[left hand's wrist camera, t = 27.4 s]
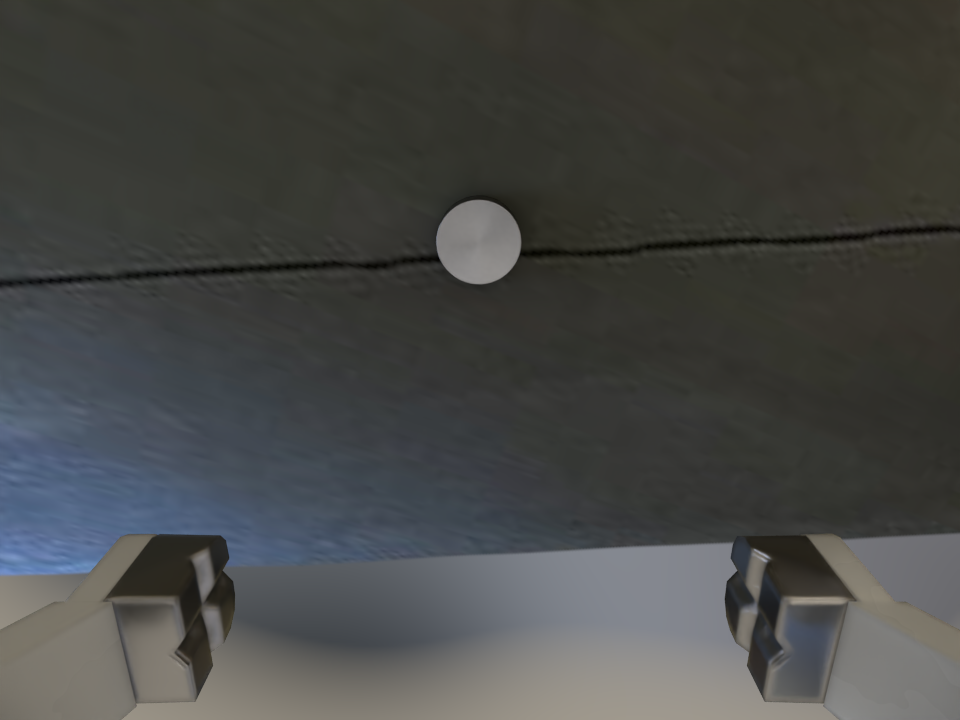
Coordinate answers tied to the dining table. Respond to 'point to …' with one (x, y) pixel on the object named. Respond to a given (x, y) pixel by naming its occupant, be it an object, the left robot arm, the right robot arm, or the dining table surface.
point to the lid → (478, 240)
